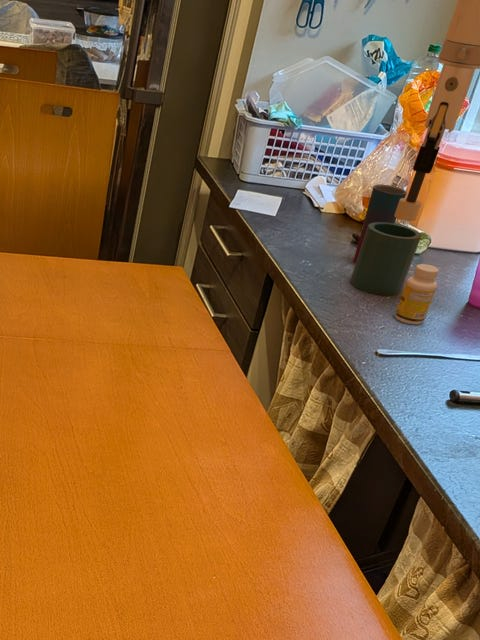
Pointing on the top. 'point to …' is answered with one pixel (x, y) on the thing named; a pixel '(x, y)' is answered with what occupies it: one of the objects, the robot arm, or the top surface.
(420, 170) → the robot arm
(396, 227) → the jar
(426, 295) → the supplement bottle
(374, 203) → the cup
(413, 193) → the brush
